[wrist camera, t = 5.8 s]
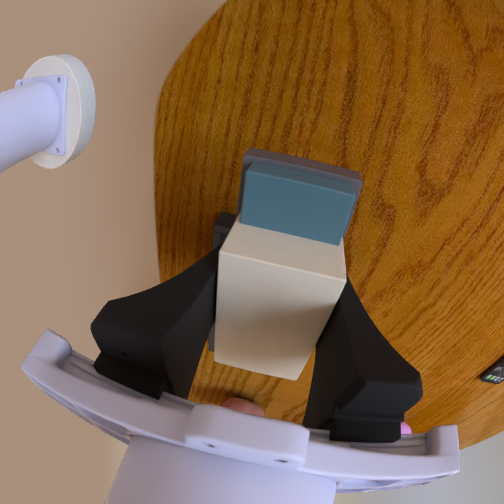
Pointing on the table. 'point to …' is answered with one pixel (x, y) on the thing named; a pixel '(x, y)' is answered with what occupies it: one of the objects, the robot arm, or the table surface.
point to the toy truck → (282, 261)
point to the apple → (243, 406)
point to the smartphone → (494, 373)
